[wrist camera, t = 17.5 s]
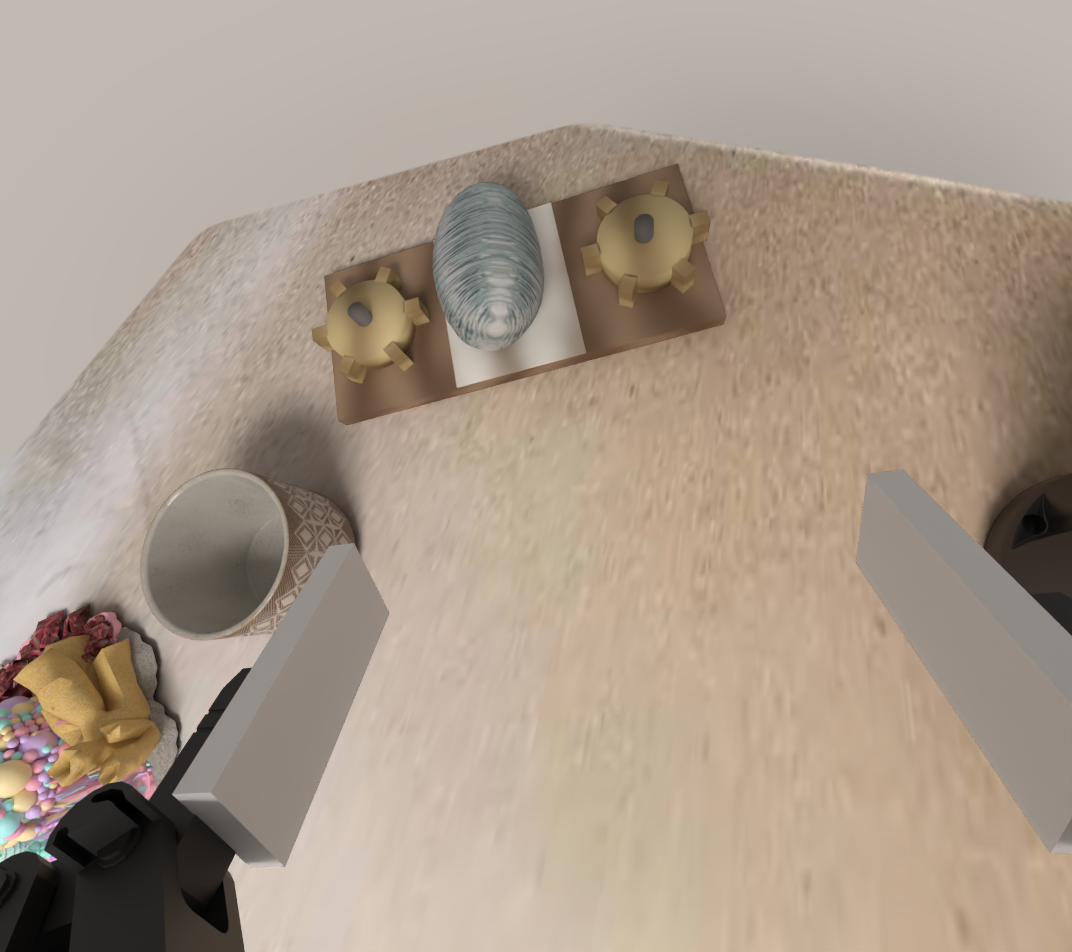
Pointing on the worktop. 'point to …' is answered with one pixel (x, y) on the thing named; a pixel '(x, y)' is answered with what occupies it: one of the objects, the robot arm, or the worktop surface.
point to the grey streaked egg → (488, 267)
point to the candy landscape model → (76, 724)
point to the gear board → (566, 309)
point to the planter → (235, 553)
